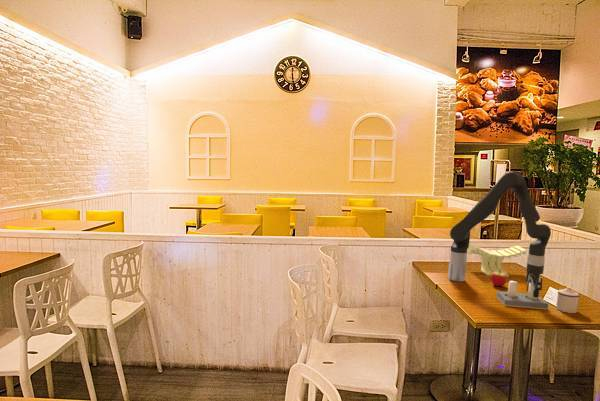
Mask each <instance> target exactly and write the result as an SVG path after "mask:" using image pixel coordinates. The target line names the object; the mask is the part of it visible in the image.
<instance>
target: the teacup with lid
mask: <svg viewBox="0 0 600 401" xmlns="http://www.w3.org/2000/svg"><path fill="white" fill-rule="evenodd" d="M556 297H557V298H556V306H555V307H556V310H558V311H559V312H563V313H566V312H567V313H566V314H576V313H577V312H578V308H579V307H578V305H579V297H580V294H579V292H577V291H575V290H573V289H572V287H570V286H567V287H566V288H563V289H558V290H557V296H556Z"/></svg>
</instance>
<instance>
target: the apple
mask: <svg viewBox="0 0 600 401" xmlns="http://www.w3.org/2000/svg"><path fill="white" fill-rule="evenodd" d="M500 270H501V269H500ZM490 280H491V283H492V284H493V286H495V287H504V286H505V284H507V281H508V277H507V276H506V274H504V273H500V272H494V273H492V275H491V276H490Z"/></svg>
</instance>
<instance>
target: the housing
mask: <svg viewBox="0 0 600 401" xmlns="http://www.w3.org/2000/svg"><path fill="white" fill-rule="evenodd" d="M507 293H508V291H501V290H496V296H495V297H496V298H497V299H498V300H499V301H500V303H502V305H503V306H505V307H515V308H517V307H518V308H526V309H528V308H529V309H538V310H549V303H548V302H547V301H546V300H544V299H543V298H542V297H541V296H540V295H539V296H538V298H537V300H530V299H527V298H528V293H523V292H517V293H516V298H507V297H506V296H507Z"/></svg>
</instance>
